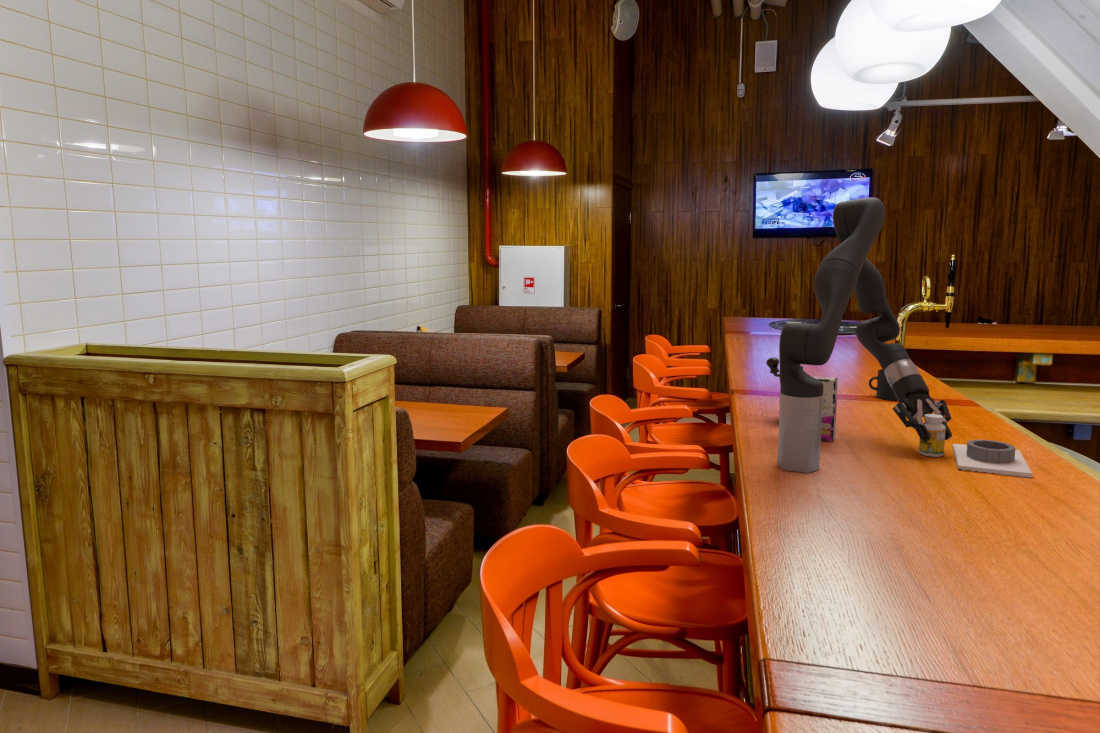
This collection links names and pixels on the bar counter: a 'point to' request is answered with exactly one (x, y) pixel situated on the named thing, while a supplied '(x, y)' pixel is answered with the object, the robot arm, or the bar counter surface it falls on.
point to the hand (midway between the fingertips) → (938, 439)
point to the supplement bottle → (933, 436)
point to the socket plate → (991, 458)
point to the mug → (883, 387)
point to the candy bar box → (828, 407)
